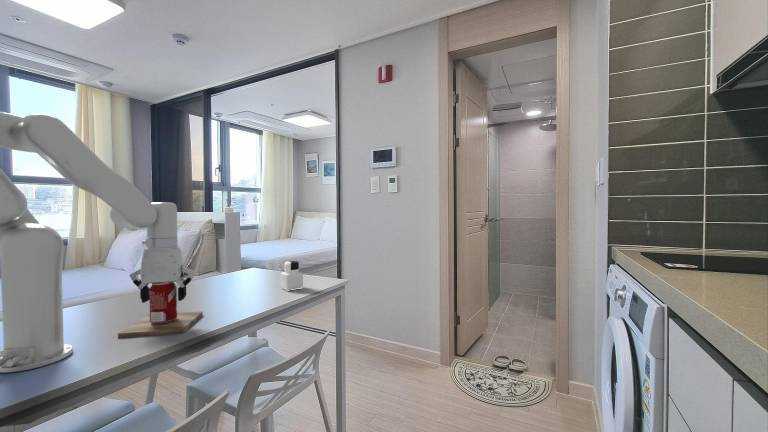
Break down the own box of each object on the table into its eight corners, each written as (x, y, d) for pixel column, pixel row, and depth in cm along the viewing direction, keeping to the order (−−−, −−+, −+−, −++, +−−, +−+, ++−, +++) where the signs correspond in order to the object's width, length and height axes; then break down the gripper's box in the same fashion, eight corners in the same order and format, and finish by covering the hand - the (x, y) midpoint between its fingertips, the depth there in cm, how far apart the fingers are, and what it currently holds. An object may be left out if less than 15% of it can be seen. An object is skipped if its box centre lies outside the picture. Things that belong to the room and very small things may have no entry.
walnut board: (182, 333, 92) (182, 329, 92) (117, 337, 89) (117, 333, 89) (202, 315, 108) (202, 311, 108) (148, 318, 105) (148, 314, 105)
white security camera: (296, 286, 147) (295, 259, 147) (303, 289, 142) (302, 261, 141) (280, 288, 143) (280, 261, 142) (287, 292, 137) (287, 263, 137)
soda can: (163, 326, 94) (162, 284, 94) (144, 324, 96) (143, 283, 95) (182, 318, 101) (181, 279, 100) (164, 317, 102) (163, 278, 102)
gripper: (122, 245, 92) (123, 306, 93) (189, 244, 96) (190, 302, 96) (136, 243, 100) (138, 298, 100) (198, 241, 103) (199, 295, 103)
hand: (163, 300), depth 98 cm, fingers open, 9 cm apart
